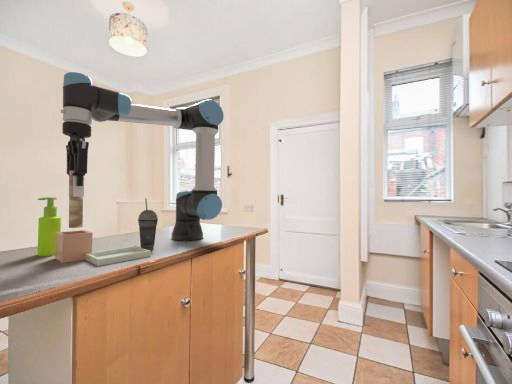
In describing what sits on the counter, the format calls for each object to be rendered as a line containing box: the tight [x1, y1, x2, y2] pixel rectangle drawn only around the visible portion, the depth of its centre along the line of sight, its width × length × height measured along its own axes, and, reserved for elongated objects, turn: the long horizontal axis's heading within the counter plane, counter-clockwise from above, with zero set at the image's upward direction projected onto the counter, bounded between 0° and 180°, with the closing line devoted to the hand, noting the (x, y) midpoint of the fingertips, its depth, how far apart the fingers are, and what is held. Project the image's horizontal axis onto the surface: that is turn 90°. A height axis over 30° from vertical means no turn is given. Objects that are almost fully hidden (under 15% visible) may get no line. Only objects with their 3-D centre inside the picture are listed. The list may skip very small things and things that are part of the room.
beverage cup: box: [137, 198, 159, 251], centre depth 98 cm, size 7×7×20 cm
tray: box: [84, 245, 152, 267], centre depth 82 cm, size 16×11×3 cm
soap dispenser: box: [37, 196, 62, 257], centre depth 84 cm, size 6×7×20 cm
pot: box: [54, 229, 93, 264], centre depth 80 cm, size 8×8×9 cm
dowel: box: [68, 171, 84, 229], centre depth 80 cm, size 4×4×18 cm
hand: (76, 196), depth 80 cm, fingers closed on dowel, 3 cm apart
